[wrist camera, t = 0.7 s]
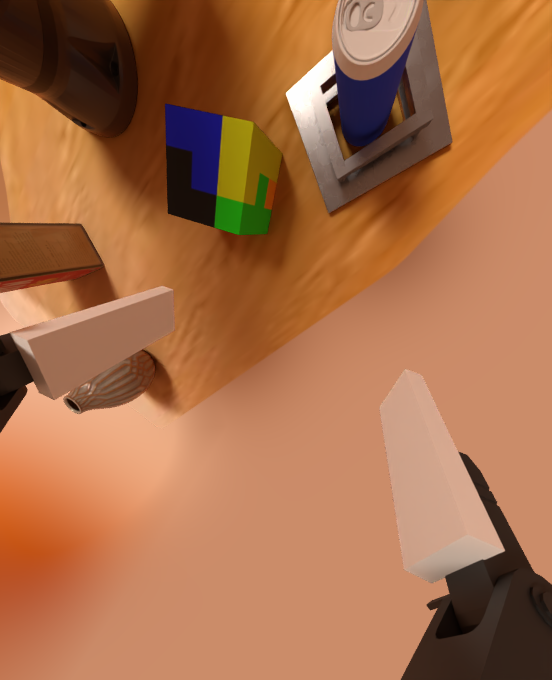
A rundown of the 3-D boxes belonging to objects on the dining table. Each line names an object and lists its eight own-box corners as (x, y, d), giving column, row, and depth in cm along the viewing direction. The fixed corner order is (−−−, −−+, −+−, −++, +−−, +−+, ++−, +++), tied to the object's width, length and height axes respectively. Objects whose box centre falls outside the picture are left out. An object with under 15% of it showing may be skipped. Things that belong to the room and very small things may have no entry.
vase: (152, 337, 53) (74, 379, 38) (172, 381, 58) (109, 434, 43) (116, 339, 57) (33, 377, 42) (137, 379, 62) (70, 426, 48)
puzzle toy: (217, 138, 31) (165, 103, 22) (282, 153, 29) (253, 122, 20) (211, 217, 36) (167, 213, 27) (267, 233, 34) (238, 235, 26)
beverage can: (394, 84, 23) (444, -94, 11) (383, 146, 26) (413, 62, 13) (345, 91, 25) (336, -56, 12) (338, 150, 27) (326, 78, 14)
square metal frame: (287, 96, 26) (276, 73, 22) (418, -23, 20) (433, -84, 16) (329, 213, 30) (325, 210, 26) (449, 144, 24) (468, 127, 20)
